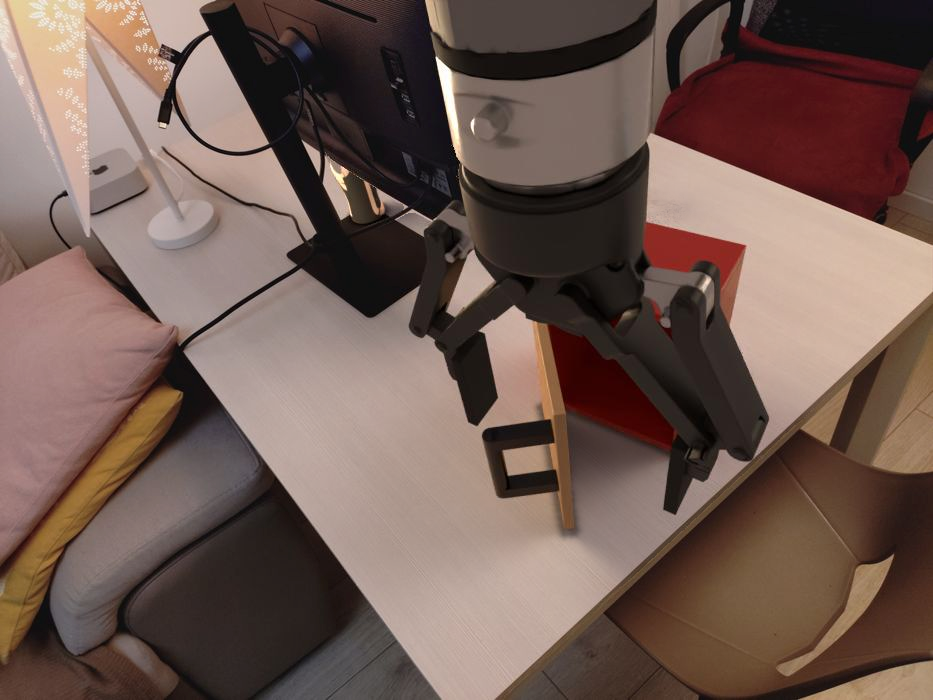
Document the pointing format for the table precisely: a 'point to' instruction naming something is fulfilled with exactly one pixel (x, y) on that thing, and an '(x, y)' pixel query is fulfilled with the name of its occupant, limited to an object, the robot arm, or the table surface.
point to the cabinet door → (536, 439)
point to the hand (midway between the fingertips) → (572, 449)
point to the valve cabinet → (604, 381)
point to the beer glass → (358, 195)
